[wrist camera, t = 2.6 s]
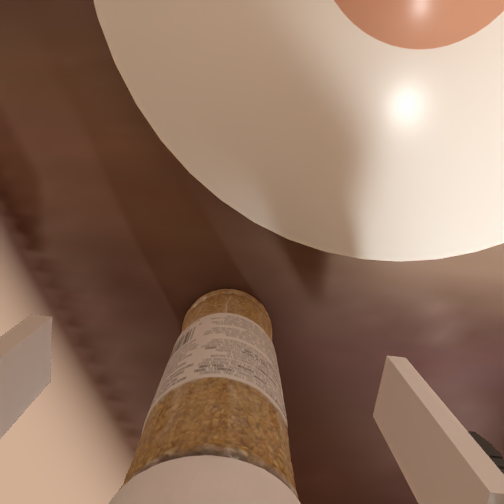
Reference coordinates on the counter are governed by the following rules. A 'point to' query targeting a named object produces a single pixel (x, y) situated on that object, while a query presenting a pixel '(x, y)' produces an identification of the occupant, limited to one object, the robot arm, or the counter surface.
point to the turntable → (330, 114)
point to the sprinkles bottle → (216, 414)
